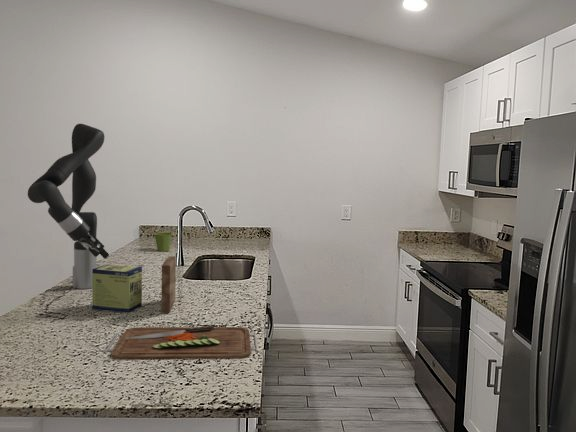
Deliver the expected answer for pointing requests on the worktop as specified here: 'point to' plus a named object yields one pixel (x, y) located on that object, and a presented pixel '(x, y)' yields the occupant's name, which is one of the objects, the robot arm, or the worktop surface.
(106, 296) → the protein box
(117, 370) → the worktop surface
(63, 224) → the robot arm
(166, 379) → the worktop surface
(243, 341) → the chopping board
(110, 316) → the worktop surface
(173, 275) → the board
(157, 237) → the plant pot
